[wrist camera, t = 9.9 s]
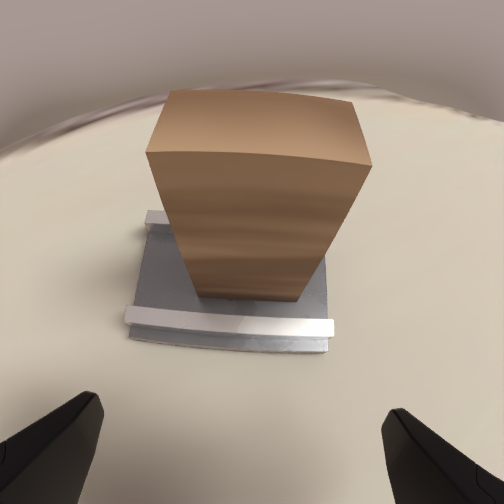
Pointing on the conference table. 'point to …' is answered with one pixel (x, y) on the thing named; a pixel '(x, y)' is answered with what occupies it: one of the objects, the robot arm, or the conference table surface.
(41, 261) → the conference table surface
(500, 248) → the conference table surface
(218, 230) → the upright wooden block
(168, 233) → the door track
